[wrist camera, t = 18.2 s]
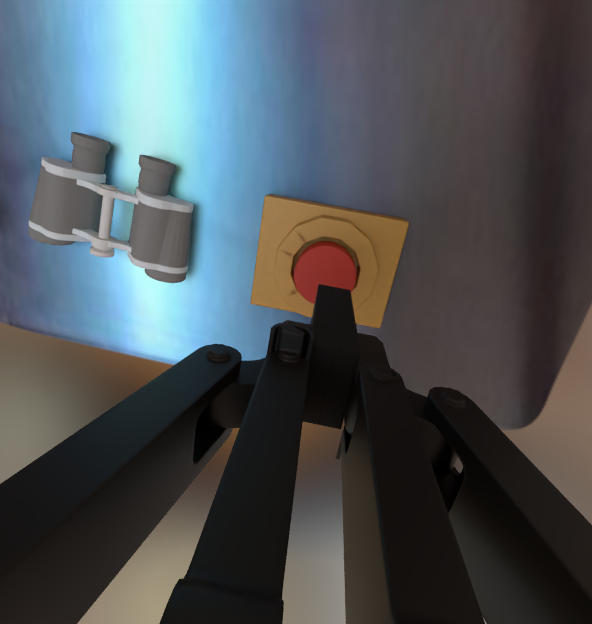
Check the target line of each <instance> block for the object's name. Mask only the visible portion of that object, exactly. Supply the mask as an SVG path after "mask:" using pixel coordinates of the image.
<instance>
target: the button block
mask: <svg viewBox="0 0 592 624" xmlns="http://www.w3.org/2000/svg"><path fill="white" fill-rule="evenodd" d="M408 226H409V222H408V221H406V220H405V219H403V218H398V217H393V216H387V215H382V214H376V213H371V212H366V211H360V210H355V209H349V208H344V207H339V206H333V205H328V204H322V203H317V202H312V201H306V200H301V199H295V198H290V197H285V196H279V195H274V194H269V195H265V199H264V206H263V214H262V221H261V228H260V236H259V243H258V251H257V258H256V266H255V273H254V281H253V288H252V296H251V304H255V305H260V306H265V307H271V308H276V309H281V310H286V311H292V312H297V313H300V314H301V315H303V316H307V317H312V314H313V309H314V304H313V303H311V302H309V301H307V300H306V299H305V298H303V297H302V296H301V294H300V293H299V292H298V290H297V288H296V285H295V282H294V270H295V266H296V263H297V261H298V258H299V256H300V254H301V253H302V252H303V251H304V250H305V249H306V248H307V247H308V246H310V245H311V244H314V243H316V242H320V241H331V242H335V243H338V244H340V245H342V246H343V247H344V248H346V249H347V250H348V252H349V253H350V254H351V256H352V258H353V261H354V264H355V268H356V274H357V277H356V283H355V286H354V288H353V290H352V292H351V297H352V303H353V310H354V316H355V323H356V324H360V325H365V326H370V327H375V328H380V327H381V323H382V319H383V316H384V312H385V309H386V305H387V301H388V298H389V294H390V291H391V287H392V283H393V280H394V276H395V273H396V269H397V265H398V262H399V258H400V255H401V251H402V247H403V244H404V240H405V237H406V233H407V229H408Z"/></svg>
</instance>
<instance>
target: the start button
mask: <svg viewBox="0 0 592 624" xmlns="http://www.w3.org/2000/svg"><path fill="white" fill-rule="evenodd" d="M356 277H357V274H356V268H355V264H354V261H353V258H352V256H351V254H350V253H349V252H348V250H347V249H346V248H344V247H343V246H342V245H340V244H338V243H335V242H331V241H320V242H316V243H314V244H311V245H310V246H308V247H307V248H306V249H305V250H304V251H303V252H302V253H301V254H300V256H299V258H298V261H297V263H296V266H295V270H294V282H295V285H296V288H297V290H298V292H299V293H300V294H301V296H302V297H303V298H305V299H306V300H307V301H309V302H311V303H313V304H315V299H316V294H317V289H318V284H322V285H327V286H332V287H338V288H343V289H348V290H351V292H352V290H353V288H354V286H355V283H356Z"/></svg>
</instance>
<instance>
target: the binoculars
mask: <svg viewBox="0 0 592 624" xmlns="http://www.w3.org/2000/svg"><path fill="white" fill-rule="evenodd" d="M71 142H72V144H73V145H74V149H73V153H72V163H71V162H68V161H65V160H61V159H57V158H50V157H42V165H41V169H40V174H39V178H38V183H37V187H36V192H35V196H34V201H33V205H32V210H31V214H30V218H29V236H30V237H31V238H32V239H34V240H36V241H39V242H42V243H46V244H52V245H70V244H73V243H74V242H75V241H82V242H92V243H91V244H92V247H91V248H90V253H91V254H93V255H96V256H99V257H113V256H114V250H113V249H114V248H117V249H122V250H125V251H128V253H127V254H128V257H129V259H130V261H131V262H132V263H133V264H134V265H136V266H138V267H141V268H145V273H146V274H147V275H148V276H149V277H151V278H153V279H155V280H158V281H162V282H168V283H178V282H182V281H184V280H185V278H186V273H187V270H188V265H189V264H188V260H189V247H190V235H191V222H192V211H193V207H194V205H193V204H192V203H190V202H188V201H185V200H182V199H178V198H175V197H172V196H170V195H168V191H169V187H170V178H171V176H172V175H173V174H174V172H175V165H174V164H172V163H170V162H167V161H164V160H161V159H158V158H155V157H151V156H146V155H140V157H139V165H140V167H141V172H140V174H139V181H138V183H139V186H138V187H137V188H136V194H130V193H127V192H124V191H121V190H119V189H118V188H117V187H114V186H111V185H106V184H105V183H106V174H105V173H104V170H105V165H106V154H107V153H108V152H109V151H110V143H109V142H107V141H105V140H102V139H99V138H96V137H93V136H89V135H85V134H81V133H77V132H71ZM115 198H116V199H120V200H125V201H128V202H132V203H135V204H134V211H133V217H132V224H131V231H130V238H129V241H122V240H119V239H116V238H114V237H112V236H110V231H111V223H112V215H113V207H114V199H115Z"/></svg>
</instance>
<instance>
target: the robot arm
mask: <svg viewBox="0 0 592 624" xmlns="http://www.w3.org/2000/svg"><path fill="white" fill-rule="evenodd" d="M384 350H385V349H384V346H383V343H382V342H381V341H380V340H379V339H378V338H377V337H376V336H370V335H365V334H360V333H357V329H356V323H355V316H354V310H353V303H352V297H351V290H348V289H343V288H338V287H332V286H327V285H322V284H318V289H317V294H316V299H315V304H314V309H313V314H312V319H311V324H310V325H309V324H304V323H299V322H294V321H289V320H287V321H285V322H283V323H279V324H276V325H274V326H273V327H272V328H271V333H270V339H269V345H268V351H267V355H266V357H265V358H263V359H260V360H255V361H241V359H242V357H241V353H240V352H239V351H237V350H236V349H234V348H232V347H230V346H225V345H223V344H219V345H218V344H213V345H206V346H203V347H201V348H199V349H197V350H196V351H195V352H193V353H192V354H190V355H189V356H187V357H186V358H184V359H183V360H181V361H180V362H178V363H177V364H175V365H174V366H173V367H171V368H170V369H168V370H167V371H165V372H164V373H162V374H161V375H160V376H158V377H157V378H155V379H154V380H152V381H151V382H149V383H148V384H146V385H145V386H143V387H142V388H140V389H139V390H138V391H136V392H134V393H133V394H132V395H130V396H129V397H127V398H126V399H124V400H123V401H121V402H120V403H118V404H117V405H115V406H114V407H112V408H111V409H110V410H108V411H107V412H105V413H104V414H102V415H101V416H99V417H98V418H96V419H95V420H93V421H92V422H90V423H89V424H88V425H86V426H85V427H83V428H82V429H80V430H79V431H77V432H76V433H74V434H73V435H72V436H70V437H69V438H67V439H66V440H64V441H63V442H61V443H60V444H58V445H57V446H55V447H54V448H52V449H51V450H49V451H48V452H47V453H45V454H44V455H42V456H41V457H39V458H38V459H36V460H35V461H33V462H32V463H30V464H29V465H27V466H26V467H25V468H23V469H22V470H20V471H19V472H17V473H16V474H14V475H13V476H11V477H10V478H8V479H7V480H5V481H4V482H3V483H1V484H0V624H77V623H78V622H79V621H80V619H81V618H82V617H83V616H84V614H85V613H86V612H87V611H88V609H89V608H90V607H91V606H92V605H93V603H94V602H95V601H96V600H97V598H98V597H99V596H100V595H101V594H102V592H103V591H104V590H105V589H106V587H107V586H108V585H109V584H110V582H111V581H112V580H113V579H114V578H115V576H116V575H117V574H118V573H119V571H120V570H121V569H122V568H123V566H124V565H125V564H126V563H127V562H128V560H129V559H130V558H131V557H132V555H133V554H134V553H135V552H136V550H137V549H138V548H139V547H140V546H141V544H142V543H143V542H144V541H145V539H146V538H147V537H148V536H149V534H150V533H151V532H152V531H153V530H154V528H155V527H156V525H158V523H159V522H160V521H161V520H162V518H163V517H164V516H165V515H166V514H167V512H168V511H169V510H170V508H171V507H172V506H173V505H174V504H175V502H176V501H177V500H178V499H179V498H180V496H181V495H182V494H183V493H184V491H185V490H186V489H187V488H188V486H189V485H190V484H191V483H192V481H193V480H194V479H195V478H196V477H197V475H198V474H199V473H200V472H201V470H202V469H203V468H204V467H205V465H206V464H207V463H208V462H209V461H210V459H211V458H212V457H213V456H214V454H215V453H216V452H217V451H218V450H219V448H220V447H221V446H222V445H223V443H224V442H225V441H226V439H227V438H228V437H229V436H230V434H231V431H232V428H240V429H239V432H238V434H237V437H236V440H235V443H234V445H233V448H232V451H231V454H230V456H229V459H228V462H227V465H226V467H225V470H224V473H223V476H222V478H221V481H220V484H219V487H218V489H217V492H216V495H215V498H214V500H213V503H212V506H211V509H210V511H209V514H208V517H207V520H206V522H205V525H204V528H203V531H202V533H201V536H200V539H199V542H198V544H197V547H196V550H195V553H194V555H193V558H192V561H191V564H190V566H189V569H188V571H187V574H186V575H185V577H184V579H179V580H178V582H177V584H176V585H175V587H174V589H173V591H172V594H171V596H170V599H169V601H168V603H167V605H166V608H165V611H164V613H163V616H162V619H161V621H160V624H282V620H283V605H284V602H283V600H282V590H283V581H284V573H285V565H286V556H287V547H288V539H289V531H290V522H291V514H292V505H293V497H294V489H295V480H296V471H297V463H298V454H299V446H300V438H301V429H302V421H303V422H309V423H313V424H319V425H323V426H328V427H333V428H338V429H341V426H342V423H343V419H344V422H345V426H344V430H343V433H342V437H341V441H340V445H339V448H338V452H337V456H336V459H340V456H342V457H341V458H342V496H343V534H344V571H345V606H346V607H345V608H346V624H485V622H484V619H485V621H486V623H487V624H592V525H591V524H590V523H589V522H588V521H587V520H586V519H585V518H584V516H583V515H582V514H581V513H580V512H579V511H578V510H577V509H576V508H575V507H574V506H573V505H572V504H571V503H570V502H569V501H568V500H567V499H566V498H565V497H564V496H563V495H562V494H561V493H560V491H559V490H558V489H557V488H556V487H555V486H554V485H553V484H552V483H551V482H550V481H549V480H548V479H547V478H546V477H545V476H544V475H543V474H542V473H541V472H540V471H539V470H538V469H537V468H536V467H535V466H534V464H533V463H532V462H531V461H530V460H529V459H528V458H527V457H526V456H525V455H524V454H523V453H522V452H521V451H520V450H519V449H518V448H517V447H516V446H515V445H514V444H513V443H512V441H510V439H509V438H508V437H507V436H506V435H505V434H504V433H503V432H502V431H501V430H500V429H499V428H498V427H497V426H496V425H495V424H494V423H493V422H492V421H491V420H490V419H489V417H488V416H487V415H486V414H485V413H484V412H483V411H482V410H481V409H480V408H479V407H478V406H477V405H476V404H475V403H474V402H473V401H472V400H471V399H469V398H468V397H467V396H465V395H463V394H462V393H460V392H459V391H457V390H453V389H451V388H444V387H434V388H432V389H430V391H429V394H428V397H425V396H422V395H420V394H417V393H414V392H412V391H410V390H408V389H406V388H405V385H404V382H403V379H402V377H401V376H400V374H399V373H397V372H396V371H395V370H393V369H391V368H390V366H389V363H388V359H387V356H386V353H385V351H384ZM458 457H459V459H460V460H461V462H462V464H463V469H462V472H461V473H459V472H458V471H457V470H456V468H455V467H454V465H455V462H456V460H457V458H458ZM483 618H484V619H483Z"/></svg>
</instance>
